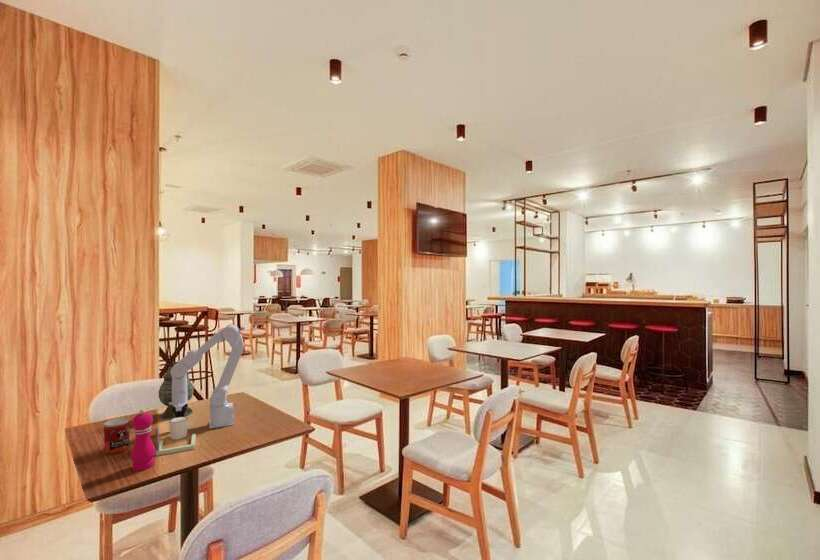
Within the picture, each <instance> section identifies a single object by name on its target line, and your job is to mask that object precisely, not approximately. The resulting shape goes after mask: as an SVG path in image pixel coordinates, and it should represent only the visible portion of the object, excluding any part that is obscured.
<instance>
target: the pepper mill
mask: <svg viewBox="0 0 820 560" xmlns="http://www.w3.org/2000/svg"><path fill="white" fill-rule="evenodd" d="M131 421H132V422H131V425H132V427H133V428H134V429H133V434H134V435H135V441H134V444H133V447H132V449H131V451H130V452H131V453H130V457H129V459H130V460H131V461H132V465H131V466H132V469H131V470H132V471H135V472H137V471H138V472H139V471H145V470H147V469H150V468H152V467H153V466H154V465H155V459H154V457H155V456H156V450H157V449H156V447H155V444H154V442H153V441H152V439H151V435H150V431H151V429H152V424H153V422H154V418H153V415H152V414H151V413H150V412H149V413H148V412H146V409H144V408H141V409H140V410H139V413H137V414H136V415H135V416H134V417H133V418H132V420H131Z"/></svg>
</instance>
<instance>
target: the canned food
mask: <svg viewBox="0 0 820 560" xmlns="http://www.w3.org/2000/svg"><path fill="white" fill-rule="evenodd" d="M103 437H104V439H103V440H104V442H103V444H104V452H105V455H117V454H121V453H124V452H126V451H127V450H128V449H130V448H129V447H130V419H129V418H127V417H117V418H112V419H110V420H107V421H105V422H104V424H103Z"/></svg>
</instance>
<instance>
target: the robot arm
mask: <svg viewBox="0 0 820 560" xmlns="http://www.w3.org/2000/svg"><path fill="white" fill-rule="evenodd" d="M225 341H226V342H227V343H228V344H229V345H230V347H231V351H230V354H229V356H228V359H227V361H226V364H225V366H224V368H223V371H222V374H221V375H220V379H219V381H218V384H217V386H216V387H215V388H214V389H213V391H212V394H211V395H210V397H209V419H210V420H209V422H208V423H209V424H208V429H215V428H222V427H228V426H233V425H234V419H235V415H234V403H233V402H229V401H228V400H227V396H228V389H229V388H230V387H229V386H230V384H231V381H232V379H233V376H234V374H235V371H236V368H237V366H238V363H239V361H240V358H241V357H242V354H243V350H244V348H245V344H244V339H243V335H242V331H241V329H240V328H239V327H238V326H237V325H236V324H232V323H229V324H227V325H226V326H225V327H224V328H222V329H220V330H219V331H217V332H216V333H214V334H213V335H212V336H210V338H209V339H207V341H206V342H204V343H203V344H202V345H201V346H200V347H199V348H198V349H192V350H188V351H187V352H186V355H184V356H183V357H182V358H181V359H179V360H178V361H177V362H178V363H177V364H175V365H174V366H171V367H172V369H171V371H170V373H171V376H172V402H169V405H173V407H172V411H173V412H174V414H175V416H176V418H178V417H184V416H185V411H186V409H187V407H189V404H188V403H189V401H188V393H187V374H186V373H187V372H189V371H190V370H192V368H194V367H196V365H197V364H199V363H200V362H201V361H202V360H203V355H204V354H206V352H208V351H209V350H210V349H211V348H213V347H214V346H215V345H216V344H218V343H222V342H223V343H224V342H225Z"/></svg>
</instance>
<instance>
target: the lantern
mask: <svg viewBox="0 0 820 560" xmlns="http://www.w3.org/2000/svg"><path fill="white" fill-rule="evenodd" d="M177 363H178V361H175V362H174V363H172V364H171V365H169V366H168V370H167V371H166V373H165V374H164V375H163V377H162V379H163V381H162V383H161V385H160V387H159V390H158V398H159V401H160V403H162V404H163V405H164V406H166V409H165V410H164V411H163V412H162V413H161V414H160V416H159V418H160V419H161V420H165V421H166V420H168V421H170V420H171V419H174V418H176V416H175V414H174V412H173V411H172V407H173V405H169V402H172V376H171V373H170V371H171V369H172V367H173V366H174V365H175V364H177ZM186 374H187V393H188V402H189V401H190V400H191V399H192V397H193V395H194V389H195V388H194V385H193V383H192V381H191V379H190V378H189V375H190V374H191V373H190V371H188V372H187V373H186ZM193 412H194V410H193V409H192V408H190V407H189V406H188V407H187V409H186V411H185V416H184V417H188V415H189V416H191V415H192V414H193ZM190 414H191V415H190Z"/></svg>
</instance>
